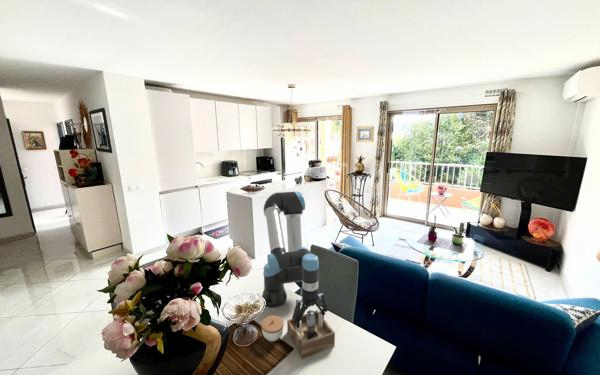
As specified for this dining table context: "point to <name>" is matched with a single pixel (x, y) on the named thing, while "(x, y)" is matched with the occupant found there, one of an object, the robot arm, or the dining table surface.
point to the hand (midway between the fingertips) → (310, 328)
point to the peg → (310, 325)
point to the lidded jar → (272, 328)
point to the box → (314, 345)
